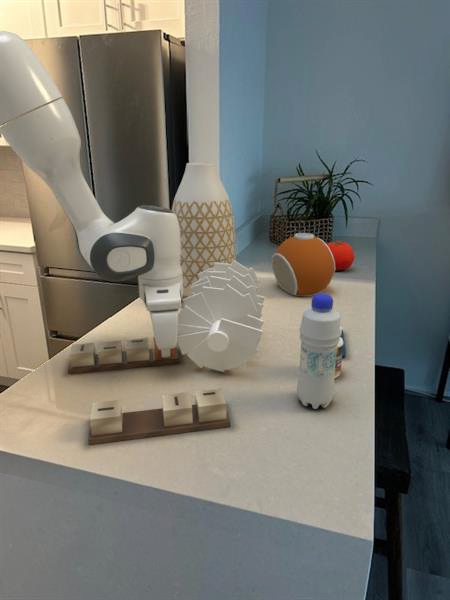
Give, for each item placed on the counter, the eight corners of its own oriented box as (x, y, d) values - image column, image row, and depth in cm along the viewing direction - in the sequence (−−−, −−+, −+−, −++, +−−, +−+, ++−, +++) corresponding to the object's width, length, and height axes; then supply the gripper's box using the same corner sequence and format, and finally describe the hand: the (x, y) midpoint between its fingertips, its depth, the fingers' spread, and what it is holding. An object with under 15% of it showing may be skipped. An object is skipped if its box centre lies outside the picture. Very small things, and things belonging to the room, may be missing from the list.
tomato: (328, 263, 163) (331, 236, 159) (359, 269, 154) (362, 241, 151) (311, 268, 156) (313, 240, 152) (341, 276, 147) (344, 246, 144)
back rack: (68, 374, 85) (65, 355, 84) (72, 360, 91) (70, 342, 89) (179, 363, 89) (178, 345, 88) (176, 350, 95) (175, 333, 93)
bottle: (295, 389, 79) (301, 287, 73) (332, 392, 78) (342, 289, 72) (295, 410, 73) (301, 300, 66) (335, 414, 72) (346, 303, 65)
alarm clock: (343, 295, 129) (349, 238, 123) (293, 303, 122) (296, 243, 116) (308, 277, 145) (311, 226, 139) (262, 284, 139) (263, 230, 133)
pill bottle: (326, 383, 81) (330, 335, 78) (304, 371, 86) (307, 325, 82) (346, 374, 85) (351, 328, 81) (324, 363, 89) (327, 319, 86)
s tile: (155, 359, 89) (154, 345, 88) (154, 349, 93) (153, 336, 92) (176, 357, 90) (176, 343, 89) (175, 347, 94) (174, 334, 93)
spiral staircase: (196, 394, 85) (210, 335, 108) (278, 364, 81) (275, 310, 104) (151, 318, 80) (176, 273, 103) (237, 281, 75) (243, 243, 98)
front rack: (88, 445, 65) (85, 422, 64) (92, 421, 71) (89, 400, 69) (230, 426, 69) (230, 405, 68) (223, 405, 75) (223, 385, 73)
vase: (162, 307, 120) (154, 164, 107) (184, 286, 137) (179, 161, 124) (227, 312, 116) (226, 165, 103) (241, 291, 133) (242, 161, 120)
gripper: (144, 273, 95) (148, 331, 100) (146, 306, 76) (151, 374, 81) (172, 272, 96) (175, 328, 101) (182, 303, 77) (185, 371, 82)
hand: (164, 349), depth 91 cm, fingers closed on s tile, 4 cm apart
